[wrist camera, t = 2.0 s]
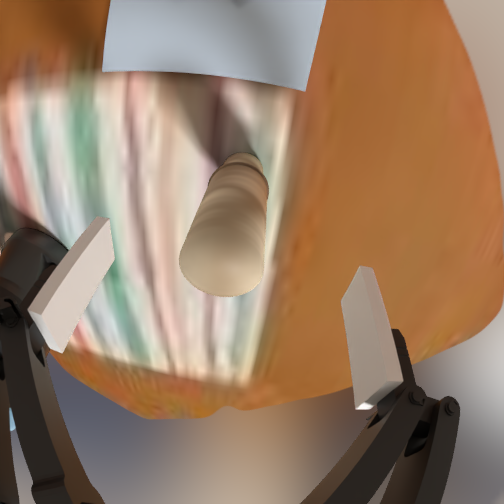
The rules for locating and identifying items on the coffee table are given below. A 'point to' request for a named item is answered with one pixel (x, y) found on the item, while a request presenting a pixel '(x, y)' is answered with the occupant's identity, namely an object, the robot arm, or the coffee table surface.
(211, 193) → the peg
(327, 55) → the coffee table surface
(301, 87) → the board
